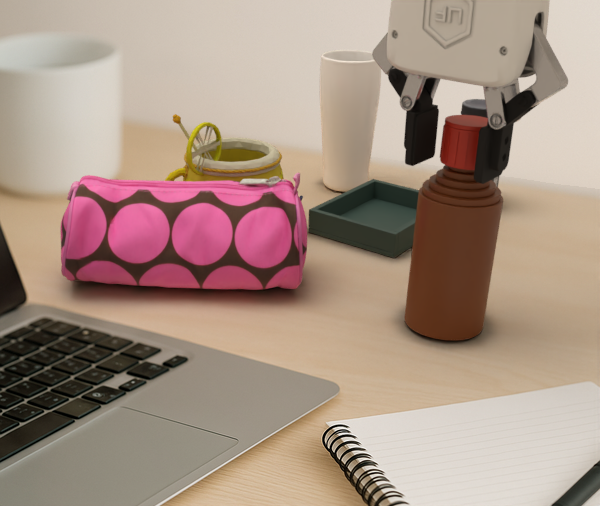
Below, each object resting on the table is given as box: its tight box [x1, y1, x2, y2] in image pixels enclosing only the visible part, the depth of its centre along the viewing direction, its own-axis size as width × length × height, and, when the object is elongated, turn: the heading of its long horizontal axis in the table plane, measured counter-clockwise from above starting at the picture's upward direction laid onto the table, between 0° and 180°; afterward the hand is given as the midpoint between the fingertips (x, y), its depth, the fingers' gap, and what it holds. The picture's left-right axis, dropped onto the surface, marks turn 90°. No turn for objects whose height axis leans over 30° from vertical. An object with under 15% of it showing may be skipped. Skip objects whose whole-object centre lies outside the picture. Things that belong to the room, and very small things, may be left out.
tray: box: [307, 178, 419, 259], centre depth 86 cm, size 12×10×2 cm
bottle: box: [404, 164, 504, 341], centre depth 64 cm, size 6×6×16 cm
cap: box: [439, 114, 488, 170], centre depth 61 cm, size 4×4×3 cm
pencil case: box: [60, 172, 308, 291], centre depth 72 cm, size 21×10×10 cm, turn 92°
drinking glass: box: [319, 49, 382, 193], centre depth 94 cm, size 7×7×15 cm
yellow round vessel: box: [164, 113, 285, 182], centre depth 83 cm, size 13×11×12 cm
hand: (453, 167), depth 61 cm, fingers open, 5 cm apart
